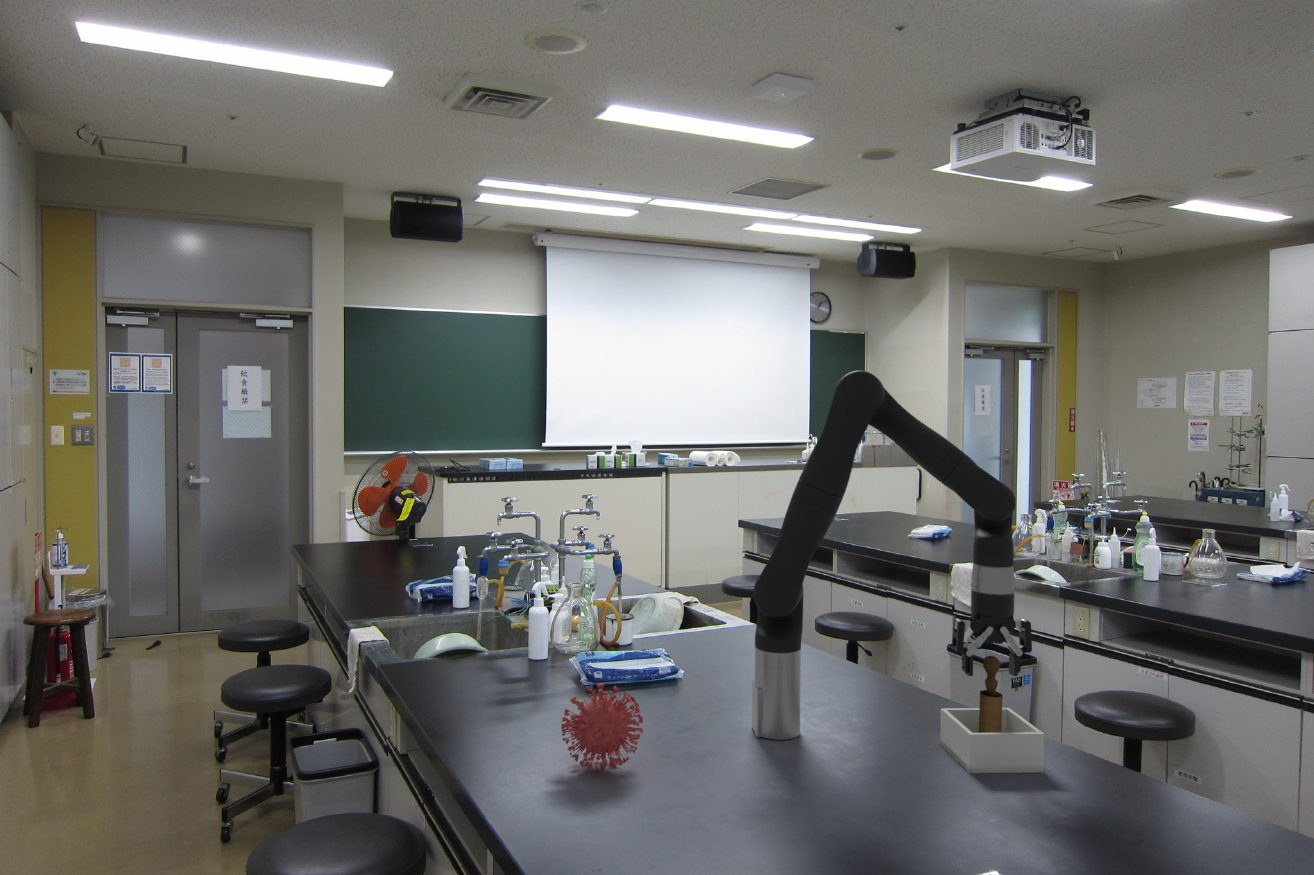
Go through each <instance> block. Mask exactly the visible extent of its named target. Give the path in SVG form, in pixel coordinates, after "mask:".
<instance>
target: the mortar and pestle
mask: <svg viewBox="0 0 1314 875" xmlns="http://www.w3.org/2000/svg"><path fill="white" fill-rule="evenodd" d="M982 667H983V669H984V670H985V672H986V676H987V677H986V678H985V679H984V684H985V685H984V686H985V689H984V690H980V691H979V708H980V711H979V732H978V733H1001V722H1002V708H1003V694H1002V693H1001V692H1000V691H999V692H998V691H996V690H997V687H998V683H999V681H998V680H997V679H996V675H997V673H998V671H999V670H1000V668H1001V662H1000V659H999V658H998V657H996V656H994V655H988V656H985V657H984V658H983V660H982Z"/></svg>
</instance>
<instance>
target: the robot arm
mask: <svg viewBox="0 0 1314 875" xmlns="http://www.w3.org/2000/svg"><path fill="white" fill-rule="evenodd" d="M826 417H827V418H826V419H825V422H824V426H823V428H822V431H821V434H820V436H819V437H818V440H817V442H816V444H815V446H814V448H813V449H812V450H811V453H810V455H809V457H808V459H807V461H806V463H805V465H804V467H803V469H802V472H801V473H800V476H799V479H798V481H797V482H796V485H795V488H794V490H793V493H792V495H791V499H790V501H789V504H788V506H787V509H786V512H785V515H784V519H783V522H782V525H781V528H780V532H779V535H778V538H777V541H776V544H775V546H774V548H773V550H772V553H771V555H770V556H769V558H768V560H767V562H766V564H765V566H764V567H763V570H762V571H761V573H760V575H759V576H758V577H757V579H756V581H755V583H754V586H753V595H752V596H753V600H754V603H755V605H756V608H757V617H756V618H757V619H756V620H757V621H756V627H755V631H754V632H755V633H754V680H752V687H751V689H752V690H751V691H752V692H751V696H752V698H751V699H752V700H751V727H752V729H753V732H754V734H755V736H756V738H764V739H769V740H776V741H777V740H778V741H783V740H790V739H792V740H793V739H795V738H797V737H799V736H800V733H801V686H802V684H801V682H802V680H801V679H802V678H801V677H802V675H801V674H802V671H801V669H802V668H801V666H802V636H803V628H804V626H803V623H804V621H803V620H804V580H805V577H806V574H807V571H808V569H809V565H810V563H811V560H812V558H813V556H814V554H815V552H816V551H817V549H818V547H819V546H820V544H821V543H822V541H823V539H824V538H825V536H826V534H827V532H828V530H829V529H830V526H831V525H832V523H833V521H834V520H835V517H836V515H837V512H838V510H839V509H840V506H841V503H842V501H843V500H844V496H845V494H846V490H847V488H848V485H849V482H850V478H851V476H852V475H851V474H852V471H853V466H854V461H855V457H856V454H857V450H858V448H859V444H860V443H861V440H862V439H863V437H864V435H865V432H866V430H867V428H868V426H871V427H872V428H874V429H876V430H877V431H878V432H880V433H882V434H883V435H885V436H886V437H887V438H889V440H891V441H892V442H894V443H895V445H896V446H898V447H899V448H901V450H902V451H903V452H905V453H906V455H907V456H908V457H910V458H911V459H912V460H913V461H914V462H916V464H918V465H919V467H921V468H922V469H923V470H925V472H927V473H928V474H929V475H931V476H932V477H933V478H934V479H935V480H937V481H939V483H940V484H942V485H944V487H946V488H948V489H950V490H951V491H953V492H954V493H955V494H956V495H958V497H959V498H961V499H962V500H963V502H964V503H966V504H967V505H968V506H969V507H971V509H973V518H974V538H973V550H972V562H973V563H972V570H971V575H970V576H971V579H970V580H971V582H970V590H971V591H970V614H971V615H970V618H969V619H968V620H967V619H961V618H957V617H956V618H954V619H953V624H952V640H951V649H952V650H954V651H955V652H957V653H958V654H961V670H962V672H964V674H965V675H966V676H967V677H973V676H974V656H973V654H974V653H975V652H976V651H977V649H979V648H980V647H981V646H982V645H983V644H985V645H991V644H993V643H994V644H998V645H999V644H1000V645H1001V644H1004V645H1005V646H1006V648H1008V650H1009V651H1010V653H1009V654H1008V674H1009V675H1012V676H1013V677H1018V675H1019V674H1020V672H1021V669H1022V668H1021V667H1022V661H1021V660H1022V655H1023V654H1024V655H1025V654H1027V653H1028V654H1031V652H1032V651H1033V643H1032V642H1033V641H1032V638H1033V637H1032V623H1031V622H1030V621H1029V620H1028V619H1025V618H1023V617H1021V618H1020V617H1019V619H1015V618H1014V614H1015V585H1016V584H1015V583H1016V582H1015V581H1016V580H1015V579H1016V577H1015V570H1014V563H1015V562H1014V554H1015V550H1014V549H1015V548H1014V547H1015V544H1014V539H1013V534H1012V528H1013V513H1014V512H1015V510H1016V509H1015V508H1016V504H1017V503H1016V502H1017V500H1016V497H1015V494H1014V492H1013V490H1011V488H1010V487H1009V486H1008V485H1006V484H1005V483H1003V482H1001V480H999V479H997V478H996V477H995V476H993V475H992V474H990V473H989V472H987V471H985V470H984V469H983V468H982V467H980V466H979V465H978V464H977V463H976V462H975V460H973V459H972V458H971V457H970V456H969V455H967V454H966V452H964V451H962V450H961V449H960V447H957V446H956V445H955V444H954V443H952V442H951V441H950V440H948V439H947V438H945V436H943V435H941V434H940V433H938V432H937V431H935V430H934V429H932V428H931V427H929V426H928V425H927V424H925V423H923V422H922V421H921V420H919V419H918V418H916V417H915V416H914V415H912V414H911V413H910V412H909V411H907V409H906V408H904V407H903V406H902V405H901V404H900V403H899V402H898V401H897V400H896V399H895V398H894V397H893V396H892V395H891V394H890V393H889V391H888V390H887V389H886V388H885V387H884V385H883V383H882V382H881V380H880V379H879V378H878V377H877V376H876V375H874V374H873V373H871V372H869V371H867V370H861V369H860V370H853V371H851V372H848V373H846V374H845V375H843V376H842V377H841V378H840V379H839V381H838V382H837V384H836V387H835V389H834V391H833V397H832V401H831V404H830V406H829V411H828V413H827V416H826ZM968 628H970V629H971V631H972V632H970V634H969V635H968V637H967V638H966V641H965V633H966V632H967V631H968ZM1014 629H1016V630H1017V631H1018V642H1019V643H1017V641H1016V639H1014V637H1013V636H1012V633H1013V632H1014Z"/></svg>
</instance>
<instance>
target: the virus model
mask: <svg viewBox="0 0 1314 875" xmlns="http://www.w3.org/2000/svg"><path fill="white" fill-rule="evenodd" d="M596 686H597V688H598V689H593V688H594V685H588V686H586V687H585V690H587V691H588V692H589V694H587V695H586V696H587V697H588V698H589V699H590V702H587V701H586V699H585V697H583V695H582V692H581V691H580V692H578V694H579V695H580V696H581V698H582V699H583V701H581V702H580V701H579V700H577V698H576V696H574V697H573V698H571V699H570V700H569V702H571V704H572V705H576V706H577V711H580V712H579V714H577V713H575V712H572V710H571V711H570V709H567V708H565V709H564V711H563V715H564V716H563V717H562V718H561V722H562V723H561V726H560V727H561V735H562V741H563V742H565V744H566V745H568V743H569V742H571V745H570V746H568V747H567V751H568V752H569V755H570V756H571V757H572V758H573V760H574V761H575V762H576V763H578V764H580V766H584V765H585V766H587V769H593V770H595V771H596V770H598V771H599V768H598V763H596V765H595V766H593V761H594V760H595V759H596V761H600V760H601V761H602V762H601V763H600V765H599V767H600V768H601V769H605V768H606V767H607V765H608V767H609V768H617V766H618V767H621V766H622V765H624V764H625V763H626V762H628V761H629V760H630V757H628V756H627V755H625V757H623V755H622V753H621V751H622V752H623V754H625V752H626V754H628V753H630V754H631V753H633V754H636V751H637V750H638V747H637V745H638V743H639V742H638V740H640V737H641V734H644V728H643V727H640V724H643V723H644V717H643V716H642V715H641V714H640V713H641V711H640V705H639V703H638V701H636V699H635V698H634V696H633V695H630V693H626V692H625V691H624V692H622V691H621V687H618V686H617V685H613V686H614V687H613V688H612V689H613V691H612V690H603V688H604V686H606V683H605V682H600V683H598V684H596ZM596 690H597V691H598V692H597V691H596ZM596 692H597V696H596ZM591 693H592V694H591ZM617 694H618V697H617ZM608 695H609V696H608ZM621 695H622V698H620V696H621ZM597 697H598V698H597ZM619 698H620V699H619ZM584 703H585V704H586V705H585V704H584ZM629 703H630V706H629ZM632 703H633V704H632ZM627 704H628V705H627ZM628 706H629V707H628ZM568 716H570V718H568ZM636 717H637V719H636ZM563 722H564V723H563ZM632 725H633V726H634V727H633V726H632ZM636 726H637V727H636ZM632 732H634V733H632ZM636 732H637V733H636ZM568 734H570V736H568V737H564V736H565V735H568ZM621 747H622V748H621ZM622 749H623V750H624V751H625V752H624V751H623V750H622ZM584 750H585V751H584ZM620 750H621V751H620ZM571 751H572V752H571ZM583 751H584V752H583ZM574 752H575V753H574ZM572 753H574V754H573V755H572ZM580 755H583V757H582V759H581V760H580V761H579V762H578V759H579V757H580ZM607 756H608V757H607ZM615 756H616V757H615ZM621 757H622V758H621ZM607 758H608V760H607ZM608 761H609V762H608Z"/></svg>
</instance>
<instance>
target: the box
mask: <svg viewBox="0 0 1314 875" xmlns="http://www.w3.org/2000/svg"><path fill="white" fill-rule="evenodd" d="M979 711H980V707H977V708H976V707H974V708H973V707H972V708H971V707H968V708H967V707H965V708H964V707H963V708H962V707H961V708H960V707H959V708H958V707H957V708H954V707H952V708H950V707H949V708H940V725H939V726H940V727H939V729H940V730H939V731H940V732H939V733H940V736H939V737H940V738H939V740H940V741H939V744H940V745H941V747H942V748H943V749H945V751H947V753H948V754H949V755H950V756H951V757H952V758H954V760H955V761H957V763H958V764H959V763H960V764H959V766H961V765H962V766H961V767H964V768H965V769H964V768H963V769H964V770H965V771H966V770H967V771H966V772H967V773H968V774H1013V773H1014V774H1015V773H1018V774H1020V773H1022V774H1023V773H1025V774H1026V773H1032V774H1033V773H1044V761H1045V760H1044V756H1045V755H1044V754H1045V733H1044V732H1042V731H1041V730H1040V729H1038V728H1037V727H1036V726H1034V725H1033V723H1032V724H1031V723H1030V722H1029V721H1028V720H1026V719H1025V718H1023V717H1022V716H1021V715H1019V714H1018V713H1016V712H1015V711H1014V710H1012V709H1011V708H1010V707H1002V722H1001V733H978V732H979Z"/></svg>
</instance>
